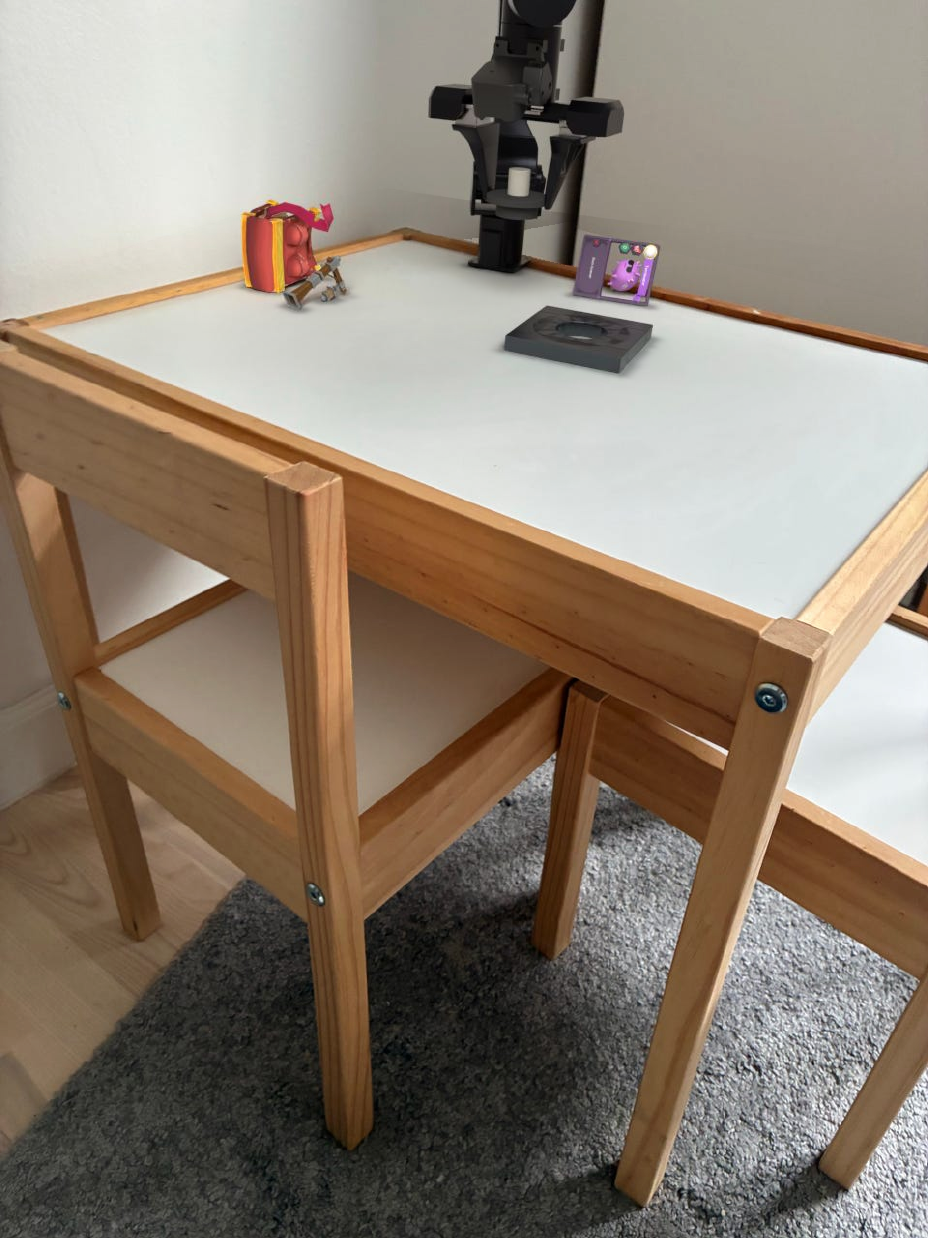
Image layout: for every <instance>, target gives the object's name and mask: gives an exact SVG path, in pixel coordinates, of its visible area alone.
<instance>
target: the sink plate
mask: <svg viewBox="0 0 928 1238" xmlns="http://www.w3.org/2000/svg"><path fill="white" fill-rule="evenodd" d="M653 328H654V324H651V323H645V322H640V321H635V320H630V319H625V318H619V317H613V316H607V315H603V314H597V313H591V312H585V311H580V310H574V309H570V308H563V307H558V306H552V305H545V306H544V307H542V308H540V309H539V310H538V311H537V312H536V313H534V314H532V315H531V316H530V317H529V318H527V319H526V320H524V321H523V322H522V323H520V324H519V325H518V326H516V327H515V328H513V329H512V330H511V331H509V332H507V334H506V335H504V337H505V338H504V349H503V351H506V352H507V351H508V352H513V353H517V354H521V355H526V356H533V357H537V358H542V359H546V360H551V361H557V362H561V363H566V364H572V365H577V366H581V367H587V368H590V369H591V368H592V369H596V370H601V371H606V372H612V373H615V374H620V373H621V372H622V370H623V369H624V368H625V367H627V365H628V364H629V362H631V361H632V359H633V358H635V356H636V355H637V354H638V353H639V352H640V351H641V350H642V348H643V347H644V346H645V345H646V344H647V343H648V342H649V341H650V340H651V339H652V333H653ZM574 336H576V337H574ZM579 337H585V338H579Z"/></svg>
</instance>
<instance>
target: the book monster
mask: <svg viewBox="0 0 928 1238" xmlns="http://www.w3.org/2000/svg"><path fill="white" fill-rule="evenodd" d="M319 207H320V209H319V208H318V207H316V206H311V207H309V210H308V209H306V208H305V207H303V206H301V205H299V204H294V203H291V202H288V201H283V202H281V203H280V202H279V201H276V200H274V199H268V200H266V203H265V204H262V205H260V206H258V207H254V208H253V209H251V210H250V211H249V212H248V211H244V212H242V214H241V221H240V222H241V224H240V225H241V226H240V230H241V231H240V232H241V233H240V234H241V235H240V236H241V237H240V238H241V256H242V266H243V276H244V282H245V287H246V288H247V287H248V288H252V289H254V290H258V291H262V292H266V293H278V294H280V293H282V292H284V291H286V287H287V286H289V285H292V284H293V283H296V282H298V281H301V280H306V279H307V278H309V277H310V276H311V275H312V273H314V274H315V272H314V271H316V270H317V271H318V270H319V269H320V268H322V267H321V264H318V263H317V260H316V258H315V254H314V250H313V244H312V232H313V231H312V230H313V229H314V230H317V231H320V232H325V233H329V230H330V227H331V225H332V223H333V221H334V215H333V210H332V207H331V203H330V202H329V203H327V204H326V205H323V204H322V203H319ZM288 214H291V215H288ZM321 215H322V217H323V218H321Z"/></svg>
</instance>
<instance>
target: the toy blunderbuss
mask: <svg viewBox="0 0 928 1238" xmlns="http://www.w3.org/2000/svg"><path fill="white" fill-rule="evenodd" d="M325 260H326V261H324V265H323V266H322V267H321V268H320V269H319V270H318V271H317V270H316V271H314V272H315V274H314V273H312V275H311V276H310V277H309V278H306V279H305V282H303V283H302V284H301V285H299V286H297V287H296V288H295V289H292V290H291V291H287V290H284V291H282V292H281V293H282V296H283V298H284V300H285V302H286V305H287V307H289V308H292V309H293V310H297V311H299V310H300V309H301V305H300V303H301V302H302V301H303V299H304V298H305V297H306V296H307V295H308V294H309V292H310V291H312V290H315V289H316V288H317V286H320V284H322V282H324V281H325V280H326V277H328V278H332V279H334V281H335V284H336V285H332V287H331V286H328V285H326V289H325V290H323V291H321V292H320V294H321V296H320V301H322V302H326V301H327V302H330V300H331V299H333V297H337V294H336V292H338V290H339V292H340V293H343V294H346V293H347V292H348V289H347V286H346V283H345V280H344V279H343V278H342V276H341V273H340V271H339V269H338V268H339V267H340V266H341V261H342V258H341V256H340V255H331V256H327V257H326V258H325ZM331 272H332V273H331ZM330 273H331V274H332V275H331V274H330Z"/></svg>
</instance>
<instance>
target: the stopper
mask: <svg viewBox="0 0 928 1238" xmlns="http://www.w3.org/2000/svg"><path fill="white" fill-rule="evenodd" d="M530 174H531V170H530V169H527V168H519V167H514V168H510V169H509V179H508V189H499V190H492V191H489V192H488V193H487V202H489V203H491V204H494V205H496V213H495V214H496V216H498V217H501V218H505V219H512V220H525V221H531V220H537V219H538V208H541V207H542V208H544V206H545V193H544V194H543V193H540V192H535V191H529V186H530ZM536 218H537V219H536Z"/></svg>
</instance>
